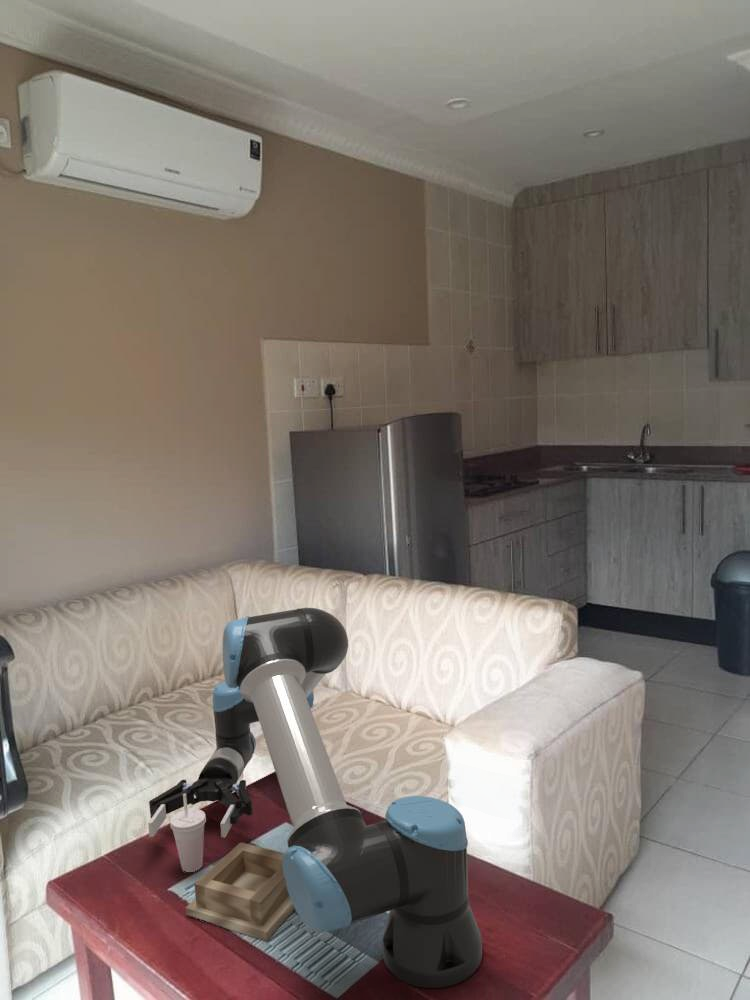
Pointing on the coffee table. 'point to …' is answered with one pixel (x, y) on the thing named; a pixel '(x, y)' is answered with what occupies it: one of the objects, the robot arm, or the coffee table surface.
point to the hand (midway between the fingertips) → (186, 830)
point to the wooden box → (244, 892)
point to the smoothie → (189, 836)
